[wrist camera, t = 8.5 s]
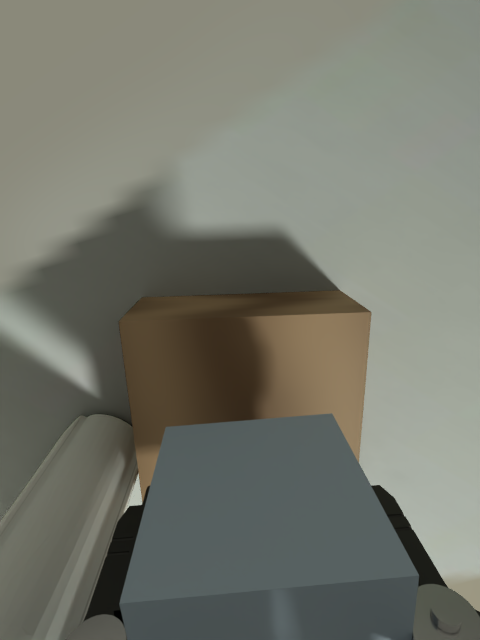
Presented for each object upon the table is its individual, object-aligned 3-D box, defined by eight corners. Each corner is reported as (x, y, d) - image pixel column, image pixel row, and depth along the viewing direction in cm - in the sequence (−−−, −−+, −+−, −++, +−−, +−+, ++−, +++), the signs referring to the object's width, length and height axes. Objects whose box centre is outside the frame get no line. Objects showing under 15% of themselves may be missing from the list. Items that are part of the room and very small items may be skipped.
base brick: (337, 288, 17) (371, 312, 13) (328, 467, 20) (353, 530, 16) (143, 295, 16) (118, 321, 13) (163, 476, 19) (147, 541, 15)
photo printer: (81, 569, 21) (-112, 1054, 9) (8, 542, 20) (-313, 1035, 8) (160, 432, 18) (42, 848, 6) (80, 396, 17) (-226, 793, 6)
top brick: (331, 413, 11) (419, 575, 6) (330, 541, 12) (399, 752, 7) (165, 426, 11) (119, 603, 6) (184, 554, 12) (159, 777, 7)
